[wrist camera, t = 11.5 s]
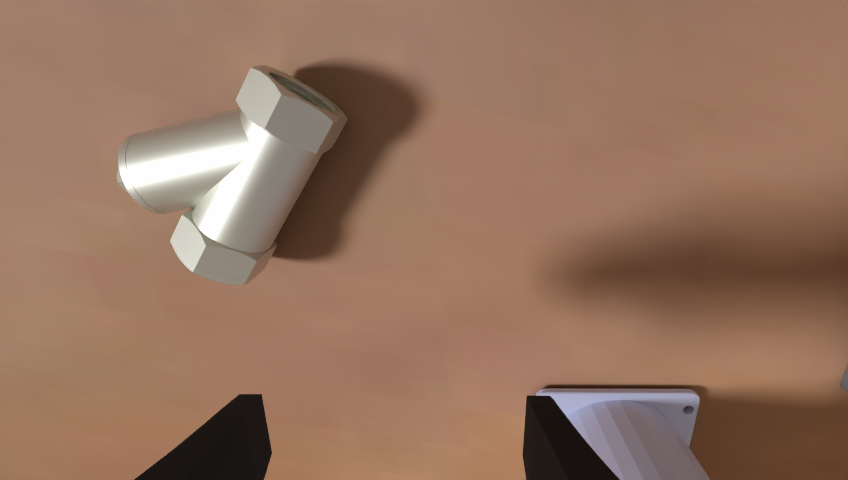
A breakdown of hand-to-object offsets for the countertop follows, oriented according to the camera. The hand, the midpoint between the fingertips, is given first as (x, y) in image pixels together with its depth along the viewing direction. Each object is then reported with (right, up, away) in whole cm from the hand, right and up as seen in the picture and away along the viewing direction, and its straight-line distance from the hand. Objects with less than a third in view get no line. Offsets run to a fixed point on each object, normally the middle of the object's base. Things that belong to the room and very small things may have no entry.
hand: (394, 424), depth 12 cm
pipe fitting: (-7, +9, +7) cm, 14 cm away
